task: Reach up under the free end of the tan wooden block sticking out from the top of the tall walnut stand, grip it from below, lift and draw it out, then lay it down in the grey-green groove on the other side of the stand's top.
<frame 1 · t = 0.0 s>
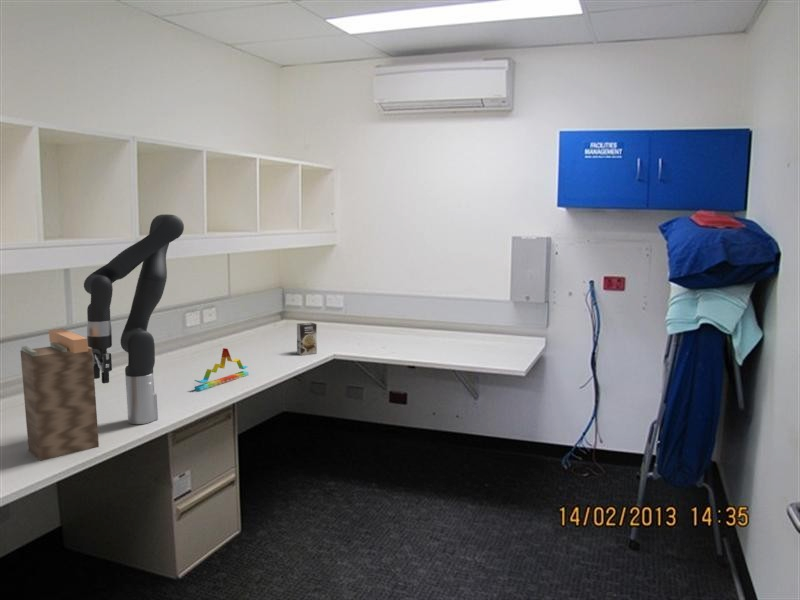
hand: (100, 380, 219), 17 cm above the table, tool pointing down, fingers open, 8 cm apart
stand: (64, 448, 203), on the table
tan wooden block: (68, 346, 203), point 32 cm above the table, touching stand
coffee box: (307, 354, 340), on the table
chart: (223, 383, 282), on the table
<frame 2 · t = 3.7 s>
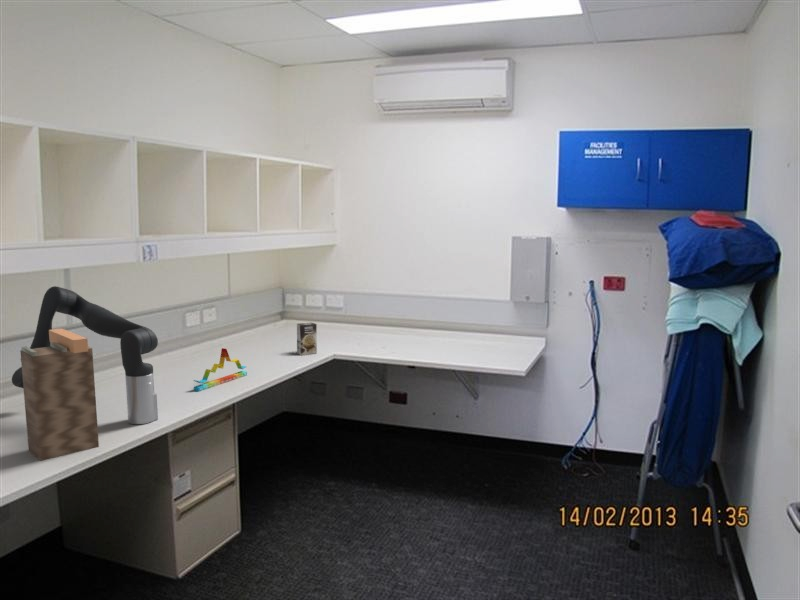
hand: (50, 349, 217), 28 cm above the table, tool pointing upward, fingers open, 8 cm apart
nothing on the table moved.
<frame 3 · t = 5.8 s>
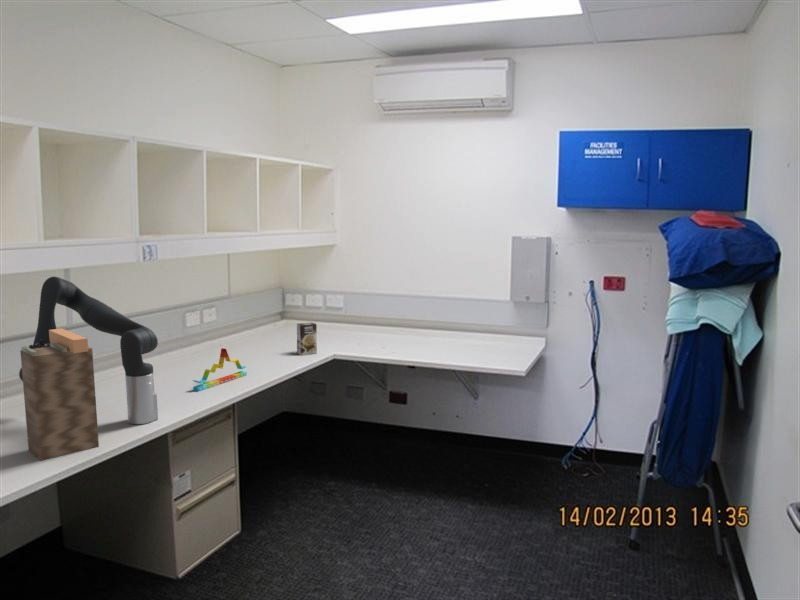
hand: (57, 340, 211), 32 cm above the table, tool pointing upward, fingers open, 8 cm apart
nothing on the table moved.
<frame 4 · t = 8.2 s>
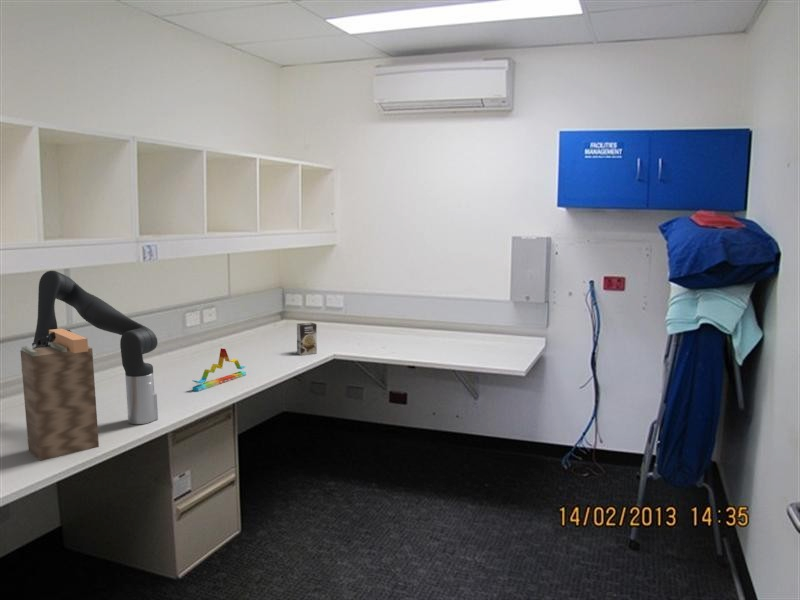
hand: (61, 333, 207), 35 cm above the table, tool pointing upward, fingers closed on tan wooden block, 4 cm apart
tan wooden block: (68, 346, 203), point 32 cm above the table, touching gripper, stand
everything else where it was.
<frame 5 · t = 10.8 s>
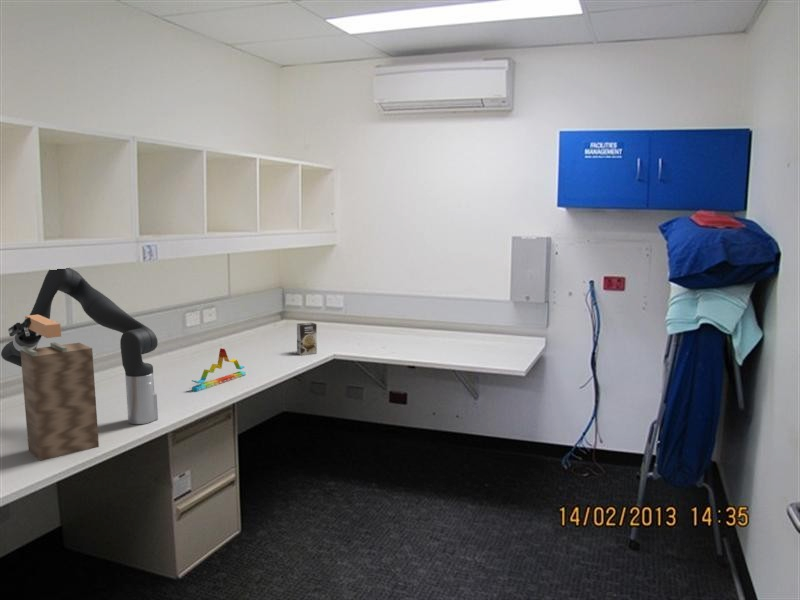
hand: (37, 319, 211), 39 cm above the table, tool pointing upward, fingers closed on tan wooden block, 4 cm apart
tan wooden block: (42, 331, 207), point 36 cm above the table, touching gripper
when the fingers open (37 cm above the table, at t = 13.6 s): tan wooden block drops 2 cm, resting on stand.
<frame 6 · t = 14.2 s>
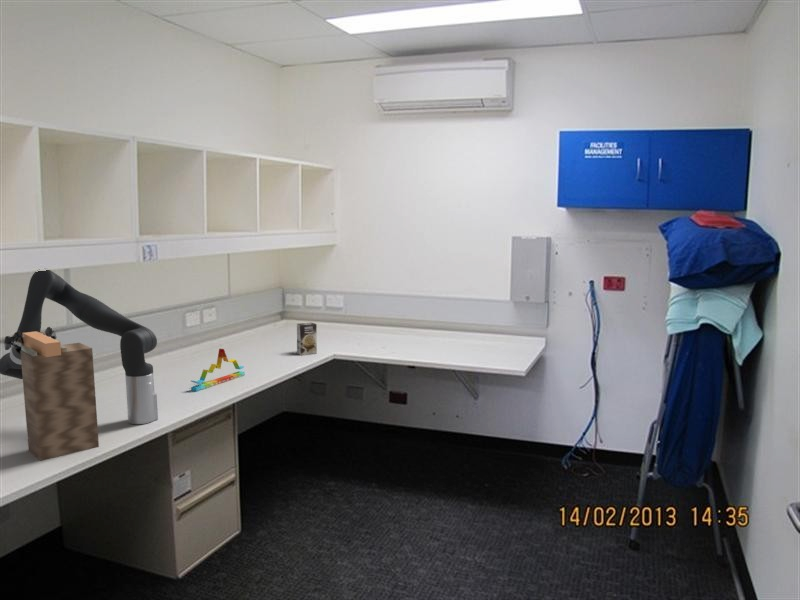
hand: (34, 331, 202), 37 cm above the table, tool pointing upward, fingers open, 8 cm apart
tan wooden block: (41, 349, 198), point 32 cm above the table, touching stand
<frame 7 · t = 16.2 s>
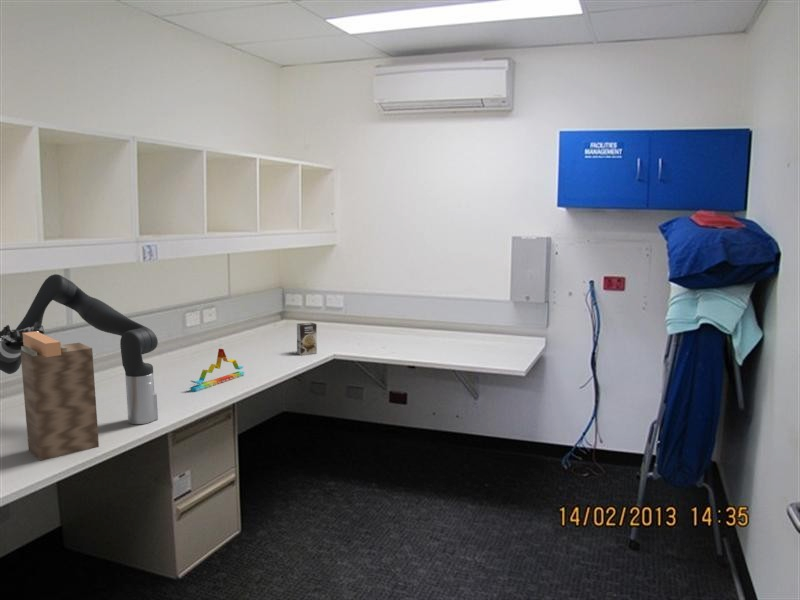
hand: (23, 326, 211), 37 cm above the table, tool pointing upward, fingers open, 8 cm apart
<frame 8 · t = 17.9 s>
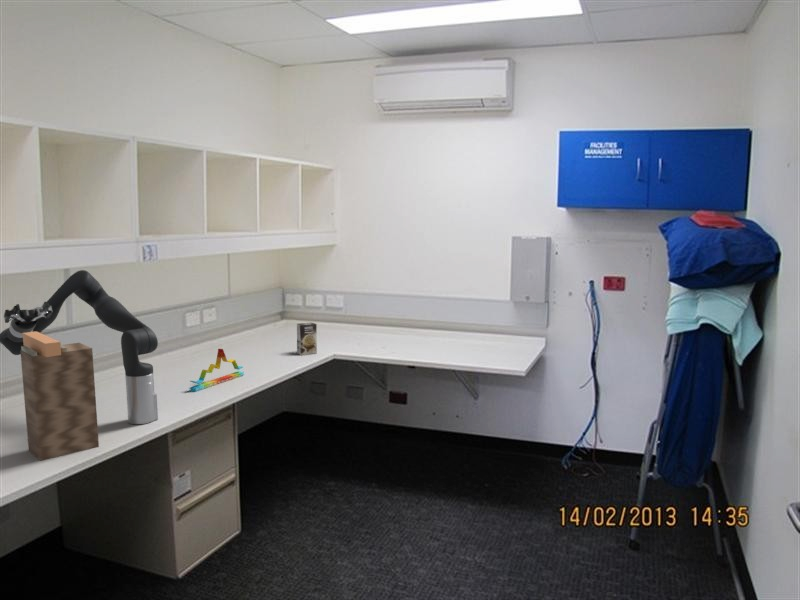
hand: (32, 305, 217), 43 cm above the table, tool pointing upward, fingers open, 8 cm apart
at the end: tan wooden block inside the target area (0.1 cm from its centre), point 32.0 cm above the table; the gripper is holding nothing; tan wooden block tilted 0° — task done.
